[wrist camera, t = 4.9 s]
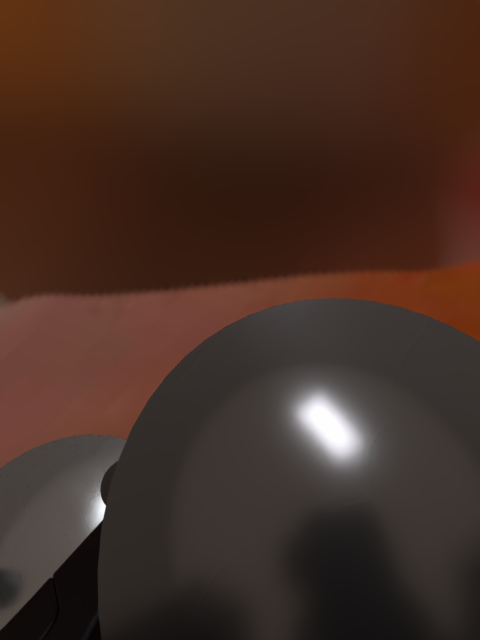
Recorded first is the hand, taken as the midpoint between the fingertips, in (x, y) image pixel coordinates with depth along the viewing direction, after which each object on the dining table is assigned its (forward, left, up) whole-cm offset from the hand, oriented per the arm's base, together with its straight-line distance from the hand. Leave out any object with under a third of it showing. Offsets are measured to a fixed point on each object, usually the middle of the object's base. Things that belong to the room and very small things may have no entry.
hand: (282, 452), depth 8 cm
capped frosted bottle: (-1, -1, -7) cm, 7 cm away
